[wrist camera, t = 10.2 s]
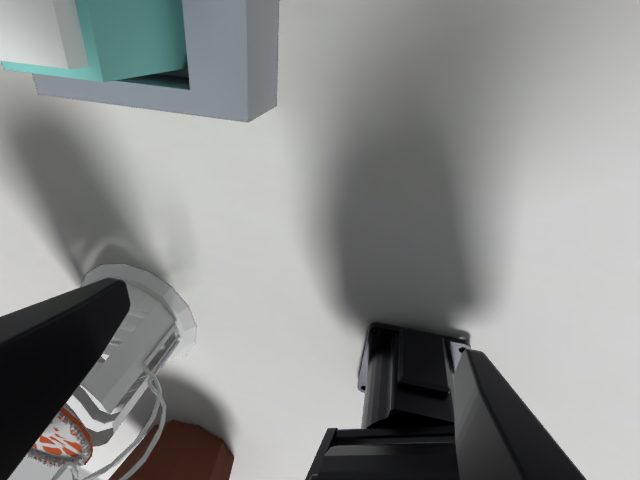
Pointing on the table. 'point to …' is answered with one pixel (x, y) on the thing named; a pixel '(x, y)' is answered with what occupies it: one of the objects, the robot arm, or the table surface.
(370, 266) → the table surface
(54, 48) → the teal rectangular block
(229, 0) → the port block
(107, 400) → the french press
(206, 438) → the muffin
